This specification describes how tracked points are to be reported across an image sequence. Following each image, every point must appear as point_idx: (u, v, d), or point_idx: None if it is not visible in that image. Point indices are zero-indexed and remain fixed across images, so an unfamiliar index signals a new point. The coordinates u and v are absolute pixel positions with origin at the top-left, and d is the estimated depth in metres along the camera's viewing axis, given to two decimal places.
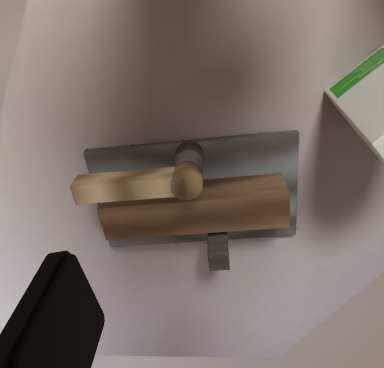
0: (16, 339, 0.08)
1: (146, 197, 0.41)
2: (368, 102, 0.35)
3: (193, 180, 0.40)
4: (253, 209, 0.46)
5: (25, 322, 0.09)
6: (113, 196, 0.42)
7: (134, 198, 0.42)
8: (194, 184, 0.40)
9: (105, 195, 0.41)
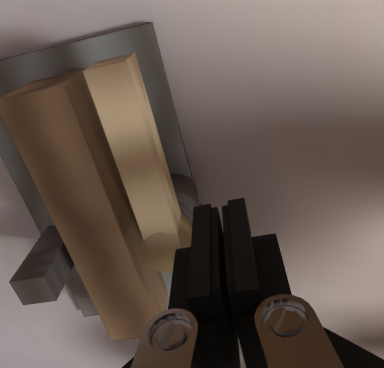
0: (209, 272, 0.09)
1: (132, 199, 0.24)
2: None
3: None
4: (128, 304, 0.33)
5: (208, 259, 0.09)
6: (122, 146, 0.22)
7: (125, 180, 0.23)
8: (171, 263, 0.26)
9: (120, 132, 0.21)
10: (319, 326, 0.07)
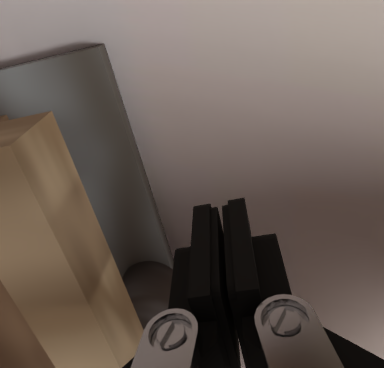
0: (209, 272, 0.09)
1: (58, 363, 0.13)
2: None
3: None
4: None
5: (208, 259, 0.09)
6: (28, 289, 0.12)
7: (43, 338, 0.13)
8: None
9: (21, 266, 0.11)
10: (319, 326, 0.07)
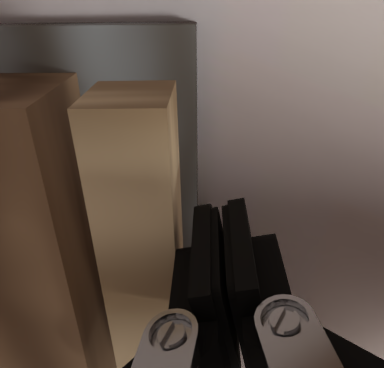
0: (209, 272, 0.09)
1: (117, 341, 0.13)
2: None
3: None
4: None
5: (208, 259, 0.09)
6: (119, 260, 0.11)
7: (112, 313, 0.12)
8: None
9: (122, 236, 0.11)
10: (319, 326, 0.07)
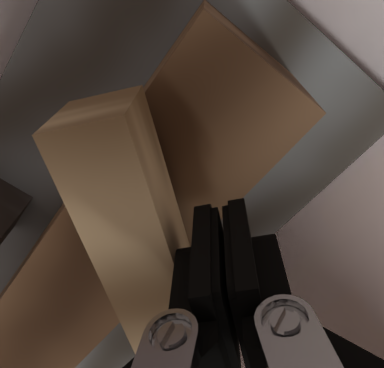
0: (210, 272, 0.09)
1: None
2: None
3: None
4: None
5: (208, 259, 0.09)
6: (119, 271, 0.11)
7: (127, 324, 0.12)
8: None
9: (116, 247, 0.11)
10: (319, 326, 0.07)
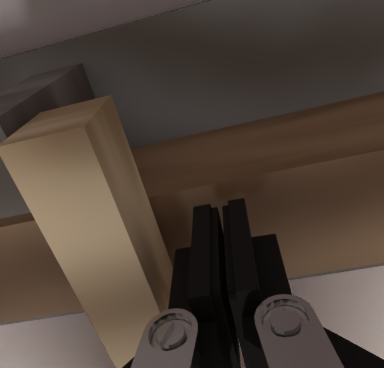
0: (209, 272, 0.09)
1: (116, 357, 0.13)
2: None
3: None
4: None
5: (208, 259, 0.09)
6: (91, 279, 0.11)
7: (102, 331, 0.12)
8: None
9: (86, 255, 0.11)
10: (319, 326, 0.07)
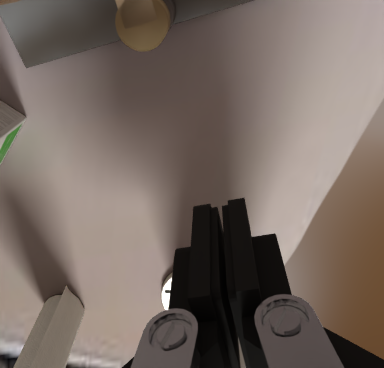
0: (209, 272, 0.09)
1: None
2: None
3: (154, 35, 0.26)
4: None
5: (208, 259, 0.09)
6: None
7: None
8: (148, 37, 0.26)
9: None
10: (319, 326, 0.07)
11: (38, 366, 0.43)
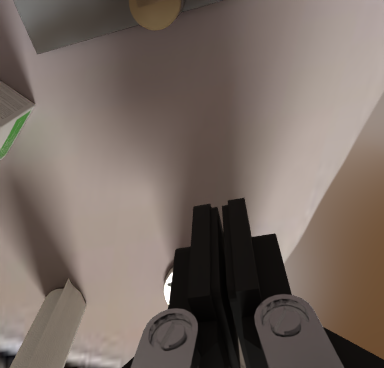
0: (209, 272, 0.09)
1: None
2: None
3: (166, 14, 0.27)
4: None
5: (208, 259, 0.09)
6: None
7: None
8: (160, 16, 0.27)
9: None
10: (319, 326, 0.07)
11: (40, 356, 0.43)
